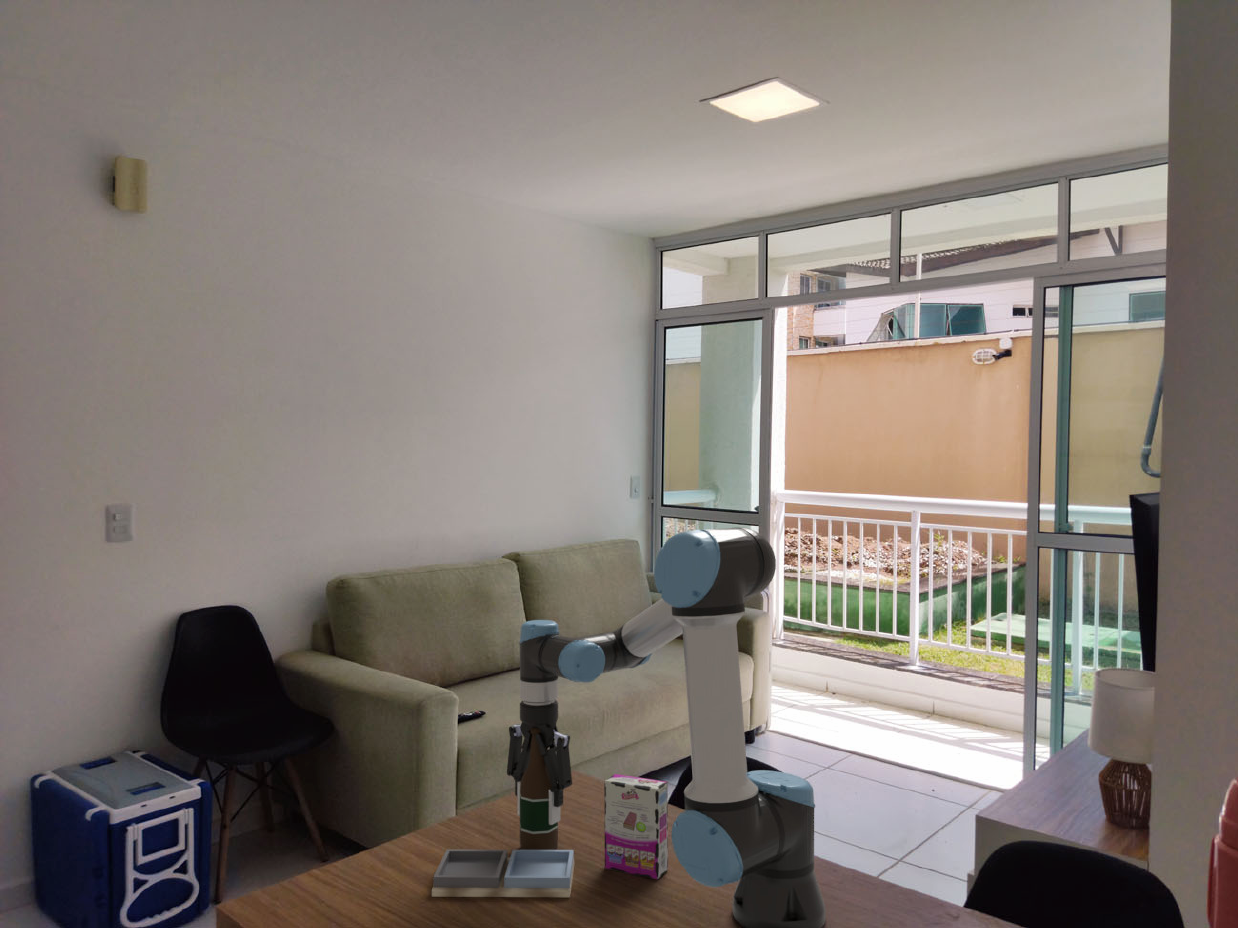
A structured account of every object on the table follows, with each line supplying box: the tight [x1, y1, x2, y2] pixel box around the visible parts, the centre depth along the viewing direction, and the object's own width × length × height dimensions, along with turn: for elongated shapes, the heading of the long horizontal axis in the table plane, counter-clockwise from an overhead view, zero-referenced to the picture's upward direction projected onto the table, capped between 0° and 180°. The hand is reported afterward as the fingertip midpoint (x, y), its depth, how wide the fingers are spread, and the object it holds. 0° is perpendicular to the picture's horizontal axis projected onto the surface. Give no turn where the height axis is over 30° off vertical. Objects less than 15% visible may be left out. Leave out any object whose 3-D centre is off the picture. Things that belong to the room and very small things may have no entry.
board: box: [431, 856, 575, 898], centre depth 160 cm, size 24×13×1 cm, turn 90°
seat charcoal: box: [432, 848, 508, 888], centre depth 160 cm, size 11×11×2 cm
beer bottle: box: [519, 727, 559, 850], centre depth 173 cm, size 8×8×24 cm
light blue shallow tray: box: [504, 849, 575, 888], centre depth 160 cm, size 11×11×2 cm
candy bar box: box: [603, 773, 669, 880], centre depth 164 cm, size 11×5×16 cm, turn 64°
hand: (538, 817), depth 173 cm, fingers closed on beer bottle, 7 cm apart
